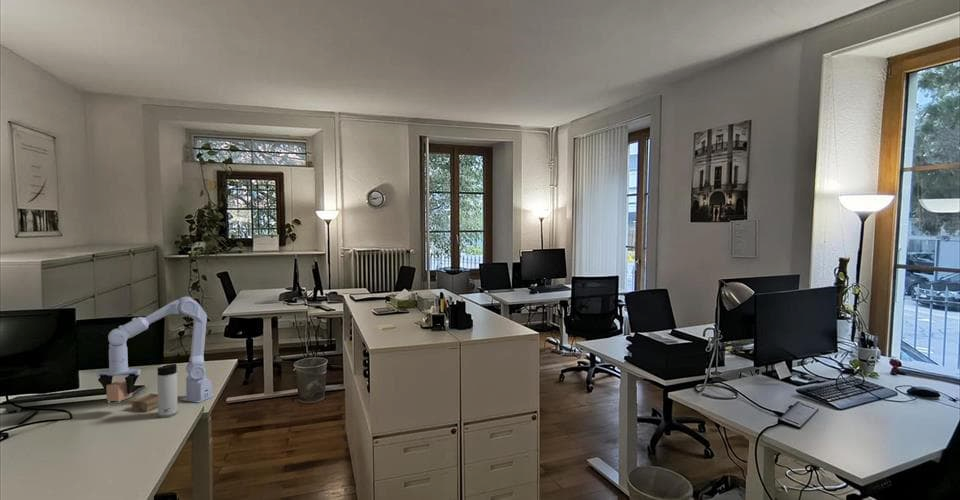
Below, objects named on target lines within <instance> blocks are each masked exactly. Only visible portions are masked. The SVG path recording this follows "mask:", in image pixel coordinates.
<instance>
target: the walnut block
mask: <svg viewBox="0 0 960 500" xmlns="http://www.w3.org/2000/svg"><path fill="white" fill-rule="evenodd" d="M157 409H158V393H157V394H156V393H149V394H147V395H143V396H141V397H137V398H136V399H135V398H134V399H133V400H131V410H133V411H137V410H138V412H143V411H144V412H145V413H148V412H151V411H153V410H157Z"/></svg>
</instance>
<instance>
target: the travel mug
mask: <svg viewBox="0 0 960 500" xmlns="http://www.w3.org/2000/svg"><path fill="white" fill-rule="evenodd" d="M157 395H158V408H157V409H158V410H157V412H158V413H157V414H158V417H159V418H164V419H165V418H166V419H167V418H171V417H173V416H176V415H177V414H178V411H179V409H178V406H179V405H178V370H177V364H176V363H171V364H166V365H163V366H159V367H157Z"/></svg>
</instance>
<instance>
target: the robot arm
mask: <svg viewBox="0 0 960 500" xmlns="http://www.w3.org/2000/svg"><path fill="white" fill-rule="evenodd" d="M180 313H182V314H184V315H186V316H189V317H190V318H191V319H193V324H192V325H193V326H192V336H191V337H192V339H191V346H190V347H191V348H190V356H189V360H188V363H187V364H186V367H185V370H186V373H187V374H188V375H187V376H186V377H185V384H186V385H185V386H186V389H185V391H186V393H185V394H186V396H185V397H183V398H181V401H186V402H191V403H197V404H199V403H201V402H203V401H206V400H208V399H210V398H213V397H214V396H215V394H213V382H212V380H211V379H209V378H207V375H206V373H207V369H206V368H205V357H204V355H205V354H204V353H205V345H206V344H205V343H206V334H207V322H208V314H207V313H206V312H205V310H204V309H203V307H202V306H201V304H200V303H198V301H197V300H195V299H193V297H191V296H182V297H180V298H179V299H175V300H173V301H171V302H170V303H168V304H166V305H164V306H162V307H161V308H158V309H157V310H155V311H154V312H152V313H150V314H148V315H146V316H145V317H142V316H138V317H133V318H132V319H131V321H128V322H127V323H125V324H123V325H122V324H121V325H119V326H118V328H114V329H112V330H111V331H109V332H108V335H107V338H108V339H107V340H108V342H109V344H108V348H109V349H108V364H109V365H108V368H109V369H101V370H98V371H96V377H98V378H97V381H98V382H99V384H101V386H102V388H103V389H104V392H105V395H106V396H107V388H106V385H108V384H111V383H113V377H114V376H115V377H116V376H126V377H124V379H125V380H124V381H126V384H127V393H128V394H130V393H132V394H133V391H134V388H135V384H136V381H137V380H138V378H139V377H140V375H141V373H142V372H141V371H142V369H140V368H129V363H128V362H129V360H128V359H129V357H128V353H129V352H128V346H127V341H128V339H131V338H133V337H135V336H137V335H139V334H141V333H142V332H144V331H147V330H149V325H151V324H152V323H155V322H157V321H159V320H161V319H162V318H164V317H166V316H168V315H172V314H173V315H175V314H176V315H177V314H178V315H180Z"/></svg>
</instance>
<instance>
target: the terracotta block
mask: <svg viewBox="0 0 960 500" xmlns="http://www.w3.org/2000/svg"><path fill="white" fill-rule="evenodd" d="M106 388H107V395H106V401H110V402H111V401H112V402H121V401H123V400H126V399H129V398H132V397H133V392H132V393H130V394H128V393H127V384H126V380H118V381H114V382H112V383H111V384H108V385H106Z"/></svg>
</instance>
